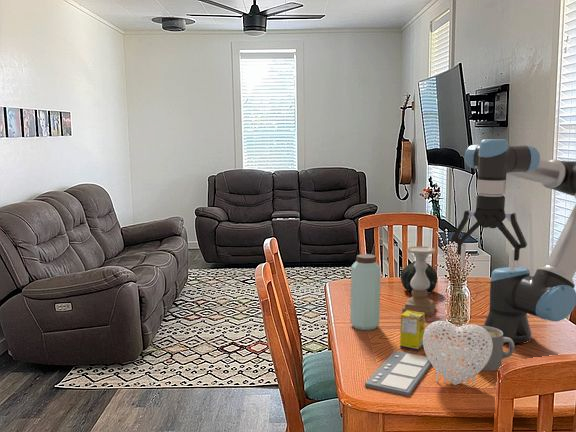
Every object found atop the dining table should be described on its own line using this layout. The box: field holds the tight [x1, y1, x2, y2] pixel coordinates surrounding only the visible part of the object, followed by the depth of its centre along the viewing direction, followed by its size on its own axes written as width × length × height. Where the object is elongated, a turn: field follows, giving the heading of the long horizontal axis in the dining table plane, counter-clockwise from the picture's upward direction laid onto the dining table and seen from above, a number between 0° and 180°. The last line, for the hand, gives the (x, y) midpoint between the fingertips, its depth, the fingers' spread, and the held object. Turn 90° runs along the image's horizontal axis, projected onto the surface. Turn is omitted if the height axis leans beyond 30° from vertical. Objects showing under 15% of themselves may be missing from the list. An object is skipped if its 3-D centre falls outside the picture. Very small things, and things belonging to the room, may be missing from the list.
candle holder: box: [401, 245, 437, 317], centre depth 219 cm, size 11×11×24 cm
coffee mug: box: [466, 325, 515, 372], centre depth 171 cm, size 13×10×10 cm
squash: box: [400, 260, 438, 294], centre depth 245 cm, size 14×15×15 cm
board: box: [364, 350, 432, 397], centre depth 165 cm, size 12×26×1 cm, turn 152°
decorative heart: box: [423, 320, 493, 386], centre depth 157 cm, size 18×11×17 cm, turn 69°
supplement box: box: [399, 310, 426, 352], centre depth 184 cm, size 6×6×11 cm
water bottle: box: [349, 253, 382, 331], centre depth 202 cm, size 10×10×25 cm
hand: (486, 268), depth 167 cm, fingers open, 13 cm apart
